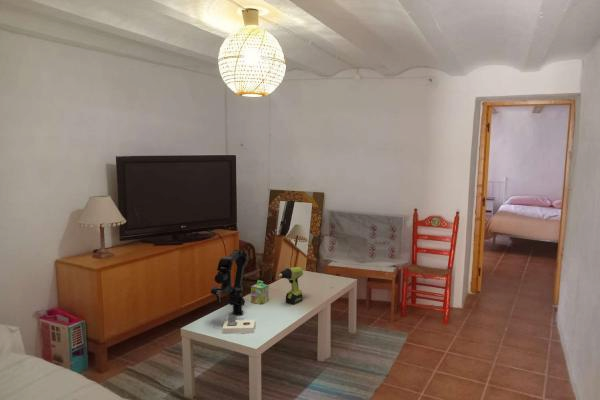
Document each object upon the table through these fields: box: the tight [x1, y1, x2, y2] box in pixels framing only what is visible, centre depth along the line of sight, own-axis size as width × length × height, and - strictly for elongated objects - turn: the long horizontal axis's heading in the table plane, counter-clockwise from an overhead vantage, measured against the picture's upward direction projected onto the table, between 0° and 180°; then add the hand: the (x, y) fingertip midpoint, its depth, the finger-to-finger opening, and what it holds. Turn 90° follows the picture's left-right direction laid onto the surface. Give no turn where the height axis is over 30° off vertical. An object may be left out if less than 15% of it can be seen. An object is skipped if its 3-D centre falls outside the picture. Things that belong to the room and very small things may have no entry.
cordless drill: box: [278, 266, 304, 306], centre depth 297 cm, size 23×7×25 cm, turn 142°
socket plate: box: [221, 319, 256, 334], centre depth 259 cm, size 12×18×3 cm, turn 91°
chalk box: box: [250, 279, 270, 305], centre depth 303 cm, size 9×9×15 cm
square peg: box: [227, 314, 237, 326], centre depth 258 cm, size 4×4×8 cm
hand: (227, 303), depth 267 cm, fingers open, 9 cm apart
